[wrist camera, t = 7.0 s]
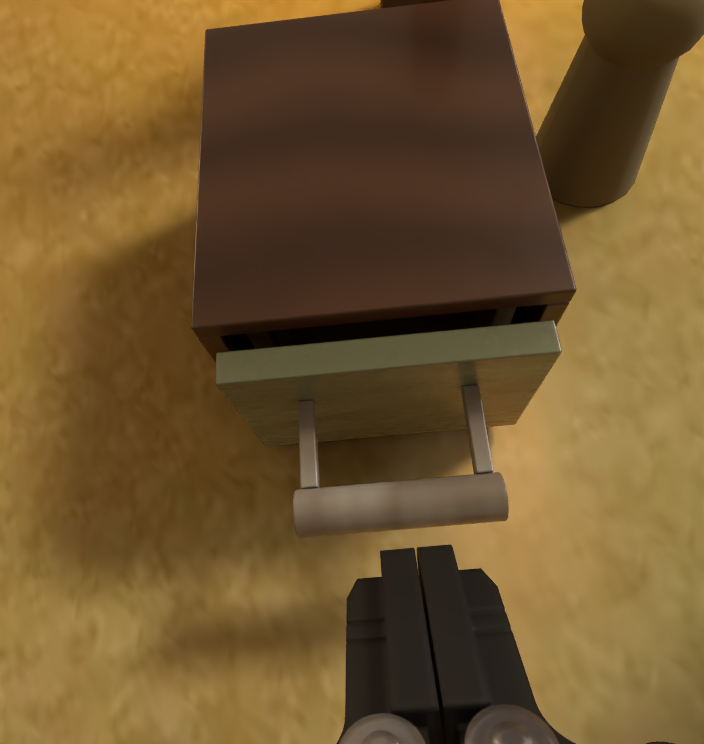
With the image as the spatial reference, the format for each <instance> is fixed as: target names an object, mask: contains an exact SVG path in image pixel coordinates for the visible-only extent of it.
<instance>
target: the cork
mask: <svg viewBox="0 0 704 744" xmlns="http://www.w3.org/2000/svg"><path fill="white" fill-rule="evenodd" d="M582 23H583V30H584V33H585V36H584V38H583V40H582V42H581V44H580V46H579V48H578V50H577V53H576V55H575V57H574V59H573V61H572V63H571V65H570V67H569V69H568V71H567V73H566V75H565V77H564V80H563V82H562V84H561V86H560V88H559V90H558V92H557V94H556V96H555V98H554V100H553V102H552V104H551V107H550V109H549V111H548V113H547V115H546V117H545V119H544V121H543V123H542V125H541V127H540V129H539V131H538V134H537V136H536V140H537V144H538V147H539V151H540V155H541V159H542V162H543V166H544V170H545V174H546V177H547V181H548V185H549V189H550V192H551V196H552V198H553V199H555V200H557V201H559V202H561V203H565V204H569V205H573V206H577V207H597V206H601V205H604V204H608V203H612V202H614V201H615V200H617V199H619V198H620V197H622V196H623V195H625V194H626V193H627V192H628V190H629V189H630V188H631V186H632V185H633V184H634V182H635V179H636V177H637V174H638V171H639V168H640V165H641V163H642V160H643V157H644V154H645V151H646V149H647V146H648V143H649V140H650V137H651V135H652V132H653V129H654V126H655V123H656V120H657V118H658V115H659V112H660V109H661V106H662V104H663V101H664V98H665V95H666V92H667V90H668V87H669V84H670V81H671V78H672V76H673V73H674V70H675V67H676V64H677V61H678V59H679V56H681V55H682V54H684V53H686V52H687V51H689V50H690V49H691V48H692V47H693V46H694V45H695V44H696V43H697V41H698V40H699V39H700V38H701V37H702V36H703V34H704V0H584V2H583V6H582Z"/></svg>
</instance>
